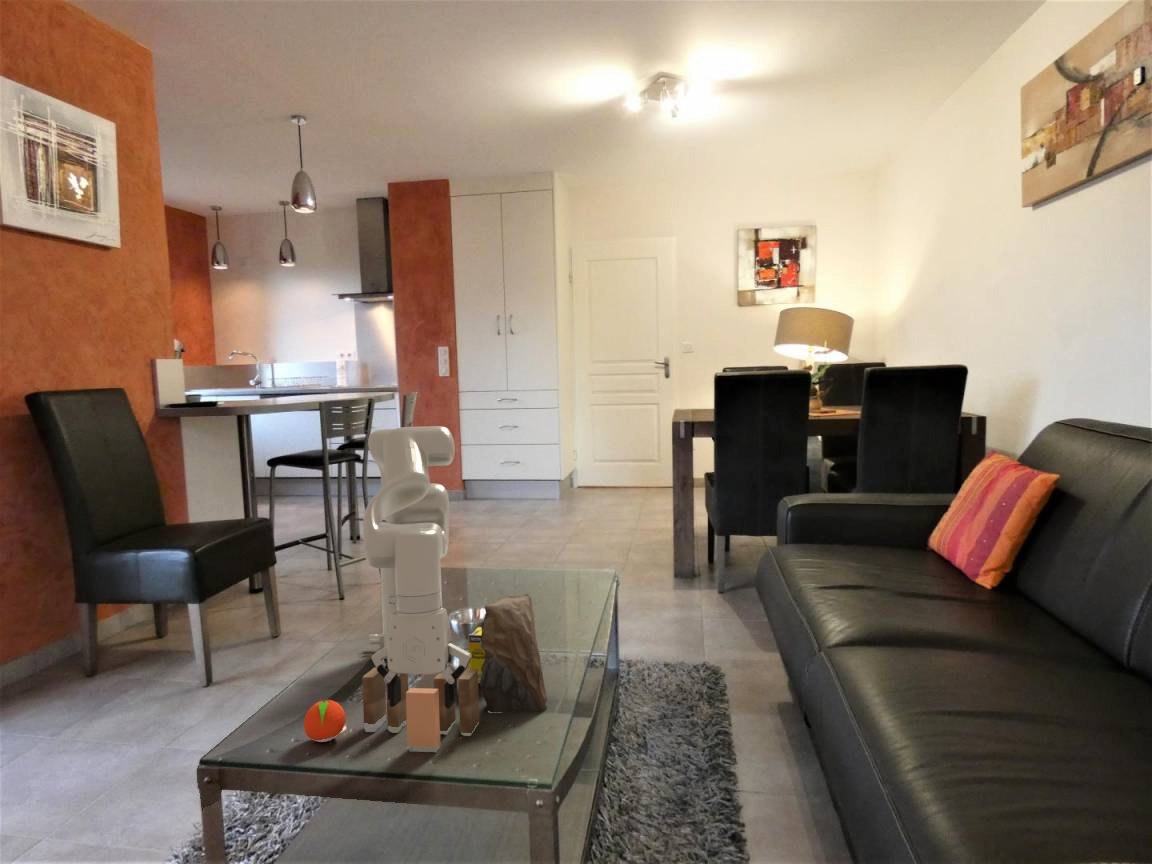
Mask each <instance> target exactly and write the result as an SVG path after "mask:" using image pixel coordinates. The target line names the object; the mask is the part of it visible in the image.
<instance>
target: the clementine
mask: <svg viewBox="0 0 1152 864" xmlns="http://www.w3.org/2000/svg"><path fill="white" fill-rule="evenodd" d="M346 721H347V720H346V713H345V710H344V708H343V706H342V705H340V703H338V702H336V701H334V700H332V699H324V700H320V701H318V702H316V703H315V704H313V705H312V706H311V707H310V708H309V709H308V710H307V712H306V714H305V716H304V718H303V729H304V730H303V731H304V733H305V735H306V736H307V738H309V739H310V738H311V739H314V740H322V739H327V738H331V737H334V736H336V735H338V734H339V733H340V732H341V731H343V730H344V727H345V725H346ZM341 733H342V732H341ZM341 733H340V734H341ZM340 734H339V735H340ZM339 735H338V736H339ZM311 739H310V740H311Z"/></svg>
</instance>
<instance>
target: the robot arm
mask: <svg viewBox="0 0 1152 864" xmlns="http://www.w3.org/2000/svg"><path fill="white" fill-rule="evenodd" d="M367 441H368V442H367V445H368V450H369V454H370V455H371V457H372V459H373V460H374V462H375V463H376V465H377V467H378V469H379V472H380V489H379V490H378V491H377V492H376V493H375V494H374V495H373V497H372V499H370V501H369V502H368V505H367V506H366V508H365V511H364V515H363V521H362V522H363V523H362V526H363V530H362V531H363V534H362V535H363V552H364V558H365V560H366V562H367V564H368V565H369V566H371V567H372V568H375V569H379V571H380V582H381V583H380V584H381V612H382V615H381V617H382V633H381V634H378V633H377V634H376V633H374V634H373V633H371V634H370V633H369V635H368V644H369V645H378V648H377V649H376V652H375V653H373V654H372V655H371V660H372V662H373V664H374V666H375V667H377V671H378V672H379V674H380V675H381V676H382V677H383V678H384V681H385V684H386V683H387V690H388V700H390V707H394V706H395V705H396V704H398V703H399V702H400V701H401V679H400V677H398V674H408V675H438V674H439V673H441V675H442V676H443V677H444V678H445V679H446V681H447V683H446V684H445V685H444V690H445V707H446V708H450V707H451V706H452V705H453V703H454V702H455V703H456V701H457V700H458V679H459V678H460V677H461V675H462V674H463V673H464V672H465V671H466V670H467V669H468V668H467V667H469V662H470V659H471V657H472V655H471V654H470V653H469V651H467V650H464V649H463V648H461V647H459V646H457V645H456V644H453V641H452V639H453V638H452V632H451V626H450V620H449V616H448V613H447V609H446V607H443V596H442V593H443V592H442V574H441V573H442V572H441V571H442V569H441V568H442V567H441V559H442V558H443V559H444V557H445V556H446V555H447V554H448V550H449V543H450V541H449V539H450V500H449V499H450V498H449V493H448V490H447V489H446V488H445V486H444V485H442V484H440V483H435V482H434V483H431V480H430V473H429V467H440V466H450V465H451V464H452V463H453V461H454V459H455V453H456V449H455V448H456V447H455V446H456V445H455V440H454V437H453V435H452V432H451V431H450V430H449V428H448V427H445V426H442V425H441V426H440V425H437V426H436V425H434V426H433V425H432V426H429V425H428V426H426V425H424V426H405V427H397V428H391V429H389V428H387V429H384V428H383V429H378V430H374V431H373V432H371V433H370V434H369V436H368V440H367ZM383 520H384V521H386V522H387V523H388V525H380V524H381V522H382V521H383ZM454 657H455V658H457V659H458V660H459V664H458V667H456V668H455V666H454V665H453V664H452V663H453V659H454ZM385 660H387V663H386V662H385Z"/></svg>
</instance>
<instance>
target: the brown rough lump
mask: <svg viewBox="0 0 1152 864" xmlns="http://www.w3.org/2000/svg"><path fill="white" fill-rule="evenodd" d="M532 603H533V602H532V598H531V596H530V595H529V593H525V594H523V595H503V596H502V597H499V598H497V600H495V601H493V602H492V603H487V604H485V606H484V609H485V616H484V617H483V618H484V619H483V622H482V624H481V627H482V635H481V639H482V649H483V650H484V652H485V661H484V663H483V666H482V667H481V671H482V677H481V680H480V686H481V687H480V689H481V692H482V696H483V699H484V701H485V703H486V707H487V712H488V711H490V712H503V713H508V712H511V713H517V712H518V713H520V712H525V713H526V712H536V711H545V710H548V708H547V703H546V702H547V700H548V699H547V692H546V687H545V686H546V685H545V682H544V675H543V669H542V663H541V662H542V661H541V655H540V651H539V646H538V641H537V636H536V629H535V628H536V627H535V614H534V610H533V604H532Z"/></svg>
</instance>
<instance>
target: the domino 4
mask: <svg viewBox="0 0 1152 864" xmlns="http://www.w3.org/2000/svg"><path fill="white" fill-rule="evenodd" d="M446 683H447V681H446V679H445V678H444V677H443V676H442V675H441V673H439V674H436V675H435V677H433V689H438V690H439V719H440V731H447V730H448V728H449V727H450V726H451V724H452V723H453V722H454V721H455V720H457V719H456V718H457V717H456V716H457V715H456V701H455V702H454V703H453V705H452V706H451V707H450V708H446V707H445V690H444V685H445V684H446Z"/></svg>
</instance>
